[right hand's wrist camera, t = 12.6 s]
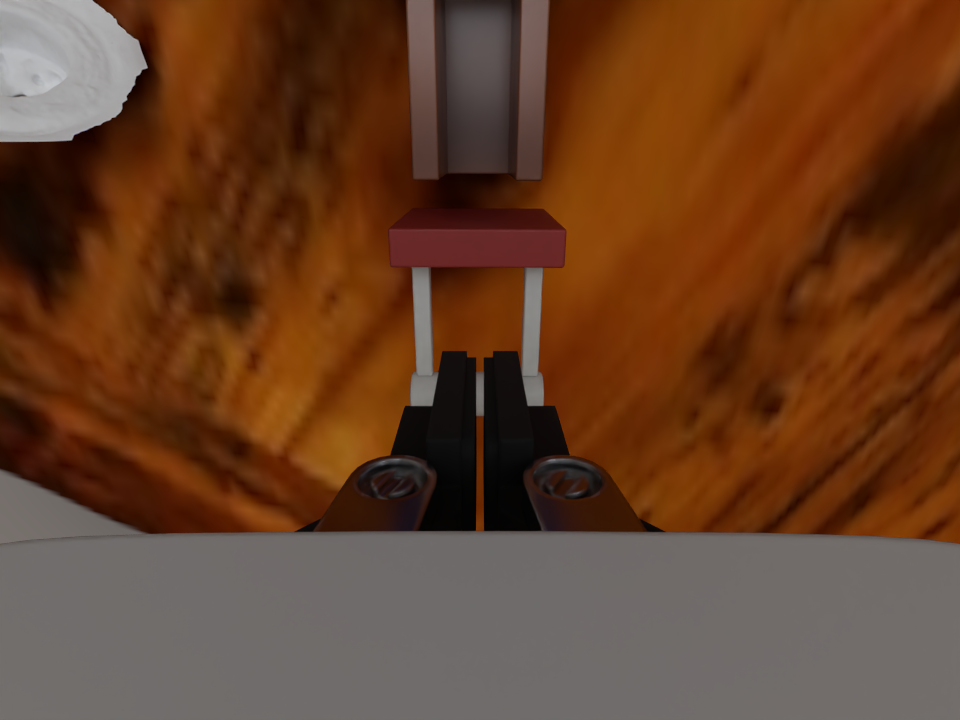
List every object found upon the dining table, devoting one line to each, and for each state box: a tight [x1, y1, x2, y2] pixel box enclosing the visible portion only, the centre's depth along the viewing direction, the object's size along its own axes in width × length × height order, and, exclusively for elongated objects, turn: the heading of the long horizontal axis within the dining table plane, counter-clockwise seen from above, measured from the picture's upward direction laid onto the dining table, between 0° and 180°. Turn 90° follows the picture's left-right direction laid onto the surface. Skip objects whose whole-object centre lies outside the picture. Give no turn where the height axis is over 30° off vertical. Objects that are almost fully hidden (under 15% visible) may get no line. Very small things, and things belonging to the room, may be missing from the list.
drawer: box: [388, 0, 566, 416], centre depth 18 cm, size 22×6×6 cm, turn 0°
